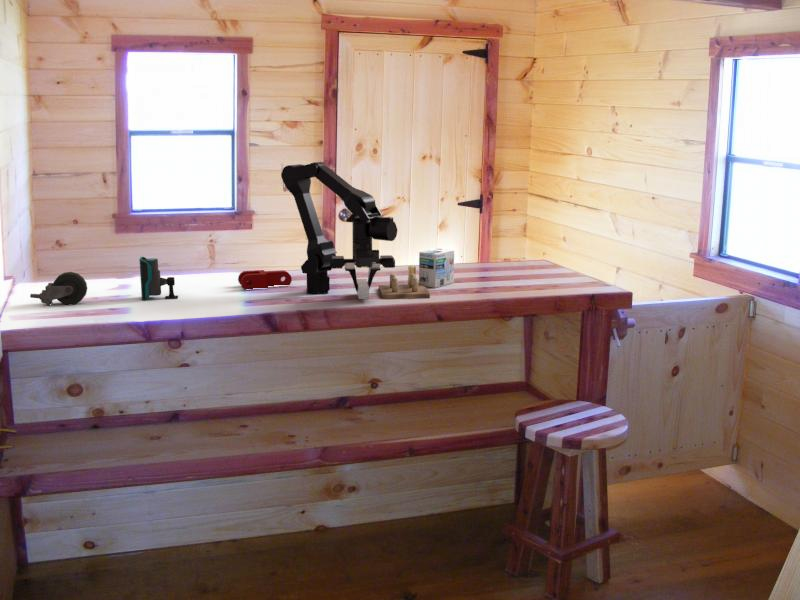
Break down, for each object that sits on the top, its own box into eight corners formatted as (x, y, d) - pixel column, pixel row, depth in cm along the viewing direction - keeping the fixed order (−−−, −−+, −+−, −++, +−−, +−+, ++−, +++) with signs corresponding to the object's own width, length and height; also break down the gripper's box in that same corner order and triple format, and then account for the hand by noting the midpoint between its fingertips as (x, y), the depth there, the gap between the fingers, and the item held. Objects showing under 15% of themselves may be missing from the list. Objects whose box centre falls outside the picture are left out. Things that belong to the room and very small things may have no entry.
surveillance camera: (175, 258, 262) (139, 259, 260) (177, 299, 264) (141, 300, 263) (176, 255, 267) (141, 256, 265) (178, 295, 270) (143, 296, 268)
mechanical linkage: (241, 291, 277) (241, 275, 276) (238, 287, 284) (237, 271, 283) (293, 288, 282) (292, 272, 281) (288, 284, 289) (288, 268, 288)
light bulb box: (435, 288, 283) (435, 254, 281) (417, 285, 287) (418, 252, 285) (454, 283, 291) (455, 250, 289) (437, 280, 295) (437, 247, 293)
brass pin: (408, 286, 286) (408, 267, 285) (407, 284, 288) (407, 266, 287) (416, 286, 286) (416, 267, 285) (415, 284, 289) (415, 265, 287)
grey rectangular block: (369, 298, 262) (369, 287, 261) (358, 299, 262) (358, 287, 261) (365, 290, 274) (365, 279, 273) (356, 290, 273) (355, 279, 272)
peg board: (382, 298, 268) (382, 281, 266) (378, 288, 281) (378, 272, 280) (429, 297, 269) (430, 280, 268) (423, 288, 283) (423, 271, 282)
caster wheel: (87, 304, 262) (32, 301, 259) (88, 271, 260) (33, 268, 257) (84, 309, 256) (28, 305, 253) (85, 275, 254) (29, 271, 251)
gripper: (331, 242, 255) (331, 297, 258) (397, 242, 257) (396, 296, 261) (329, 236, 266) (330, 289, 269) (393, 236, 268) (392, 288, 271)
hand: (362, 290), depth 267 cm, fingers closed on grey rectangular block, 3 cm apart
